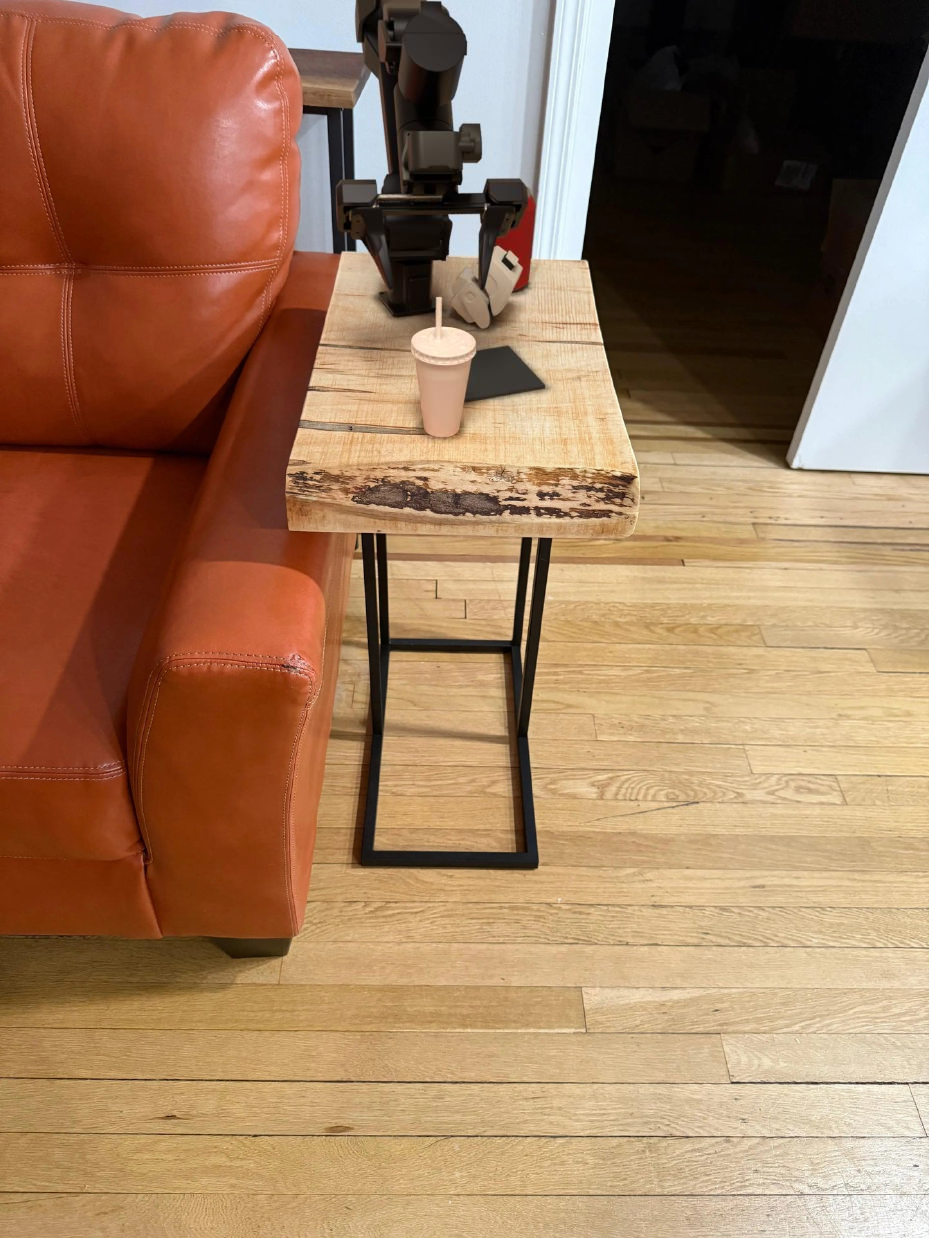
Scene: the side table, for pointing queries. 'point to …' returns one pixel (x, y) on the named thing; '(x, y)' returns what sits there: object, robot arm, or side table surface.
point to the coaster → (499, 375)
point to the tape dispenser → (486, 288)
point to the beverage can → (521, 241)
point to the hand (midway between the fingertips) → (437, 289)
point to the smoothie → (442, 374)
